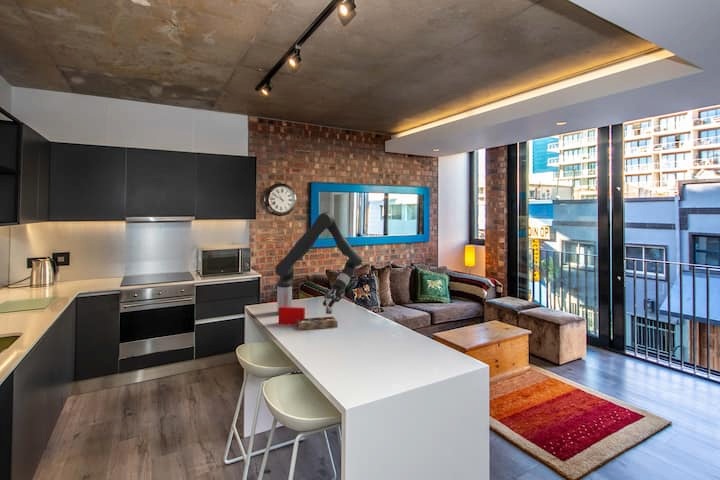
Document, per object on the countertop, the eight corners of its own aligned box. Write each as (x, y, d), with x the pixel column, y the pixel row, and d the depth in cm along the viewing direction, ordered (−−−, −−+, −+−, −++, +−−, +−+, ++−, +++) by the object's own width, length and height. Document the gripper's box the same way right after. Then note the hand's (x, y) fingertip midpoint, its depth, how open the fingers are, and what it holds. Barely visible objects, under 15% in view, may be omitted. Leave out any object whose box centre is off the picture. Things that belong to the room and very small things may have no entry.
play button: (304, 324, 219) (304, 307, 218) (303, 326, 216) (303, 309, 215) (280, 323, 221) (280, 306, 220) (278, 324, 218) (278, 307, 217)
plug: (324, 312, 220) (324, 293, 219) (331, 311, 221) (332, 293, 220) (326, 314, 215) (326, 295, 215) (333, 313, 217) (334, 294, 216)
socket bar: (299, 330, 207) (299, 322, 207) (296, 324, 216) (296, 317, 216) (337, 327, 214) (337, 320, 214) (333, 322, 223) (333, 315, 223)
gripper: (330, 277, 227) (314, 300, 219) (347, 280, 218) (332, 304, 210) (336, 284, 232) (321, 307, 223) (353, 287, 222) (338, 311, 214)
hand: (326, 305), depth 216 cm, fingers closed on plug, 4 cm apart
